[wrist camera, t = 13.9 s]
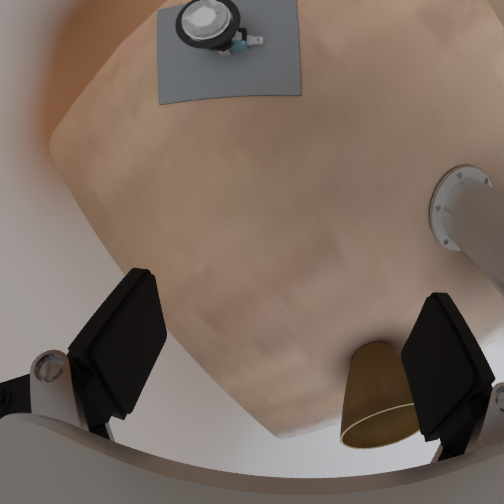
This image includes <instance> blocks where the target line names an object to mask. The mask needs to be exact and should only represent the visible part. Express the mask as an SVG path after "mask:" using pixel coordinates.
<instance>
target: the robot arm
mask: <svg viewBox="0 0 504 504" xmlns="http://www.w3.org/2000/svg"><path fill="white" fill-rule="evenodd" d="M429 217H430V226H431V229H432V232H433V234H434V237H435V238H436V239H437V241H438V242H439V243H440V244H441V245H442V246H443V247H444V248H446V249H448V250H450V251H454V252H460V251H463V252H464V253H465V254H466V255H467V256H468V257H469V258H470V259H471V260H472V261H473V262H474V264H475V265H476V266H477V267H478V268H479V269H480V270H481V271H482V272H483V273H484V275H485V276H486V277H487V278H488V279H489V280H490V281H491V282H492V284H493V285H494V286H495V287H496V288H497V290H498V291H499V292H500V293H501V294H502V296H503V297H504V194H503V193H501V192H499V191H497V190H495V189H494V187H493V184H492V182H491V180H490V178H489V177H488V176H487V175H486V174H485V173H484V172H483V171H482V170H480V169H478V168H476V167H473V166H469V165H466V166H460V167H456V168H454V169H453V170H451V171H450V172H448V173H447V174H446V175H445V176H444V177H443V179H442V180H441V181H440V182H439V184H438V186H437V188H436V190H435V192H434V194H433V197H432V200H431V205H430V215H429ZM166 338H167V331H166V326H165V322H164V318H163V313H162V309H161V304H160V299H159V294H158V289H157V284H156V279H155V276H154V275H153V274H151V272H150V271H149V270H148V269H140V268H132V269H131V270H130V271H129V273H128V274H127V275H126V276H125V277H124V278H123V279H122V281H121V282H120V283H119V284H118V285H117V287H116V288H115V289H114V290H113V291H112V292H111V294H110V295H109V296H108V297H107V299H106V300H105V301H104V302H103V303H102V305H101V306H100V307H99V308H98V310H97V311H96V312H95V313H94V315H93V316H92V317H91V318H90V320H89V321H88V322H87V324H86V325H85V326H84V327H83V329H82V330H81V331H80V333H79V334H78V335H77V337H76V338H75V339H74V341H73V342H72V343H71V345H70V346H69V347H68V350H69V353H68V354H67V355H65V353H63V352H61V351H59V350H49V351H46V352H44V353H42V354H40V355H39V356H38V357H37V358H36V359H35V360H34V361H33V363H32V365H31V369H30V374H27V375H24V376H21V377H18V378H15V379H12V380H8V381H5V382H2V383H0V504H504V383H499V384H496V385H495V386H494V387H493V388H492V385H491V384H492V383H493V381H494V380H495V377H494V374H493V372H492V370H491V368H490V366H489V364H488V362H487V360H486V358H485V356H484V354H483V352H482V350H481V348H480V346H479V344H478V343H477V341H476V339H475V337H474V335H473V334H472V332H471V330H470V328H469V327H468V325H467V323H466V322H465V320H464V318H463V316H462V315H461V313H460V312H459V310H458V308H457V307H456V305H455V304H454V302H453V300H452V299H451V297H450V296H449V295H448V293H438V292H434V293H432V294H431V295H430V296H429V297H427V298H426V300H425V303H424V305H423V307H422V310H421V312H420V314H419V316H418V319H417V321H416V323H415V325H414V327H413V329H412V331H411V333H410V335H409V338H408V340H407V342H406V343H405V345H404V347H403V349H402V352H401V360H402V363H403V367H404V370H405V373H406V377H407V380H408V384H409V388H410V391H411V395H412V399H413V403H414V407H415V411H416V415H417V419H418V424H419V428H420V432H421V434H422V435H424V437H425V442H428V441H433V440H437V439H439V438H440V441H441V444H440V446H439V448H438V450H437V452H436V453H435V456H434V457H433V459H432V461H431V463H430V464H427V465H423V466H418V467H413V468H409V469H404V470H399V471H392V472H386V473H379V474H372V475H363V476H353V477H339V478H280V477H265V476H254V475H245V474H238V473H231V472H224V471H218V470H213V469H207V468H202V467H197V466H193V465H189V464H184V463H180V462H176V461H172V460H169V459H165V458H161V457H158V456H155V455H151V454H148V453H145V452H142V451H139V450H136V449H133V448H130V447H127V446H124V445H121V444H119V443H116V442H115V440H114V437H113V434H112V432H111V429H110V426H109V420H110V418H111V416H114V417H116V418H119V419H122V420H124V419H125V417H126V415H127V414H130V413H131V412H132V411H133V409H134V407H135V405H136V403H137V400H138V398H139V396H140V394H141V392H142V389H143V387H144V385H145V383H146V381H147V379H148V376H149V375H150V372H151V370H152V368H153V366H154V364H155V362H156V360H157V358H158V356H159V354H160V351H161V349H162V347H163V345H164V343H165V341H166Z"/></svg>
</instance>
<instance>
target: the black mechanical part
mask: <svg viewBox="0 0 504 504" xmlns="http://www.w3.org/2000/svg"><path fill="white" fill-rule="evenodd" d="M229 11H230V12H231V13H232V16H233V20H232V19H231V15H230V12H229ZM240 21H241V17H240V12H239V10H238V8H237V6H236V5H235V3H233V2H232V1H231V0H192V1H191V2H189V3H188V4H186V5H185V6H184V7H183V8H182V10H181V11H180V12H179V14H178V16H177V19H176V23H175V29H176V33H177V35H178V37H179V38H180V39H181V40H182V41H183V42H184V43H185V44H187V45H189V46H191V47H194V48H200V49H203V50H204V51H219V54H220V55H231V54H230V53H229V50H247V49H248V46H253V45H263V37H253V35H247V29H246V28H239V25H240ZM190 37H192V38H194V39H198V40H199V41H195V40H192V39H191V38H190ZM257 38H259V39H257ZM258 40H259V41H258ZM258 43H259V44H258Z"/></svg>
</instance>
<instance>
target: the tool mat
mask: <svg viewBox="0 0 504 504" xmlns="http://www.w3.org/2000/svg"><path fill="white" fill-rule="evenodd" d="M231 1H232V2H233V3H235V5H236V6H237V8H238V10H239V12H240V17H241V21H240V25H239V28H246V29H247V35H253V37H263V45H253V46H248V49H247V50H229V53H230V54H231V55H220V54H219V51H204V50H203V49H200V48H194V47H191V46H189V45H187V44H185V43H184V42H183V41H182V40H181V39H180V38H179V37H178V35H177V33H176V29H175V23H176V19H177V16H178V14H179V12H180V11H181V10H182V8H183V7H184V6H185V5H186V4H183V5H179V6H174V7H170V8H165V9H161V10H158V18H157V64H158V92H159V105H163V104H169V103H176V102H183V101H191V100H200V99H210V98H222V97H237V96H266V95H286V96H301V85H300V55H299V34H298V18H297V4H296V0H231ZM229 12H230V11H229ZM230 15H231V19H232V20H233V16H232V13H231V12H230ZM190 38H191V39H192V40H195V41H199V40H198V39H194V38H192V37H190ZM257 39H259V38H257ZM258 41H259V40H258ZM258 44H259V43H258Z"/></svg>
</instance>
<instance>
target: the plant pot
mask: <svg viewBox="0 0 504 504" xmlns="http://www.w3.org/2000/svg"><path fill="white" fill-rule="evenodd" d="M419 431H420V428H419V424H418V419H417V415H416V411H415V407H414V403H413V399H412V395H411V391H410V388H409V384H408V380H407V377H406V373H405V370H404V367H403V363H402V360H401V357H400V356H399V355H398V354H397V353H396V352H395V351H394V350H393V349H392V348H391V347H390V346H389V345H388V344H386V343H383V342H374V343H370V344H367V345H365V346H363V347H361V348H360V349H359V350H358V351H357V352H356V353H355V354H354V356H353V359H352V363H351V366H350V370H349V375H348V379H347V384H346V390H345V396H344V403H343V411H342V422H341V434H340V442H341V443H342V444H343V445H344V446H346V447H349V448H354V449H373V448H379V447H384V446H388V445H391V444H394V443H397V442H399V441H402V440H404V439H406V438H408V437H410V436H412V435H414V434H415V433H417V432H419Z"/></svg>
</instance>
